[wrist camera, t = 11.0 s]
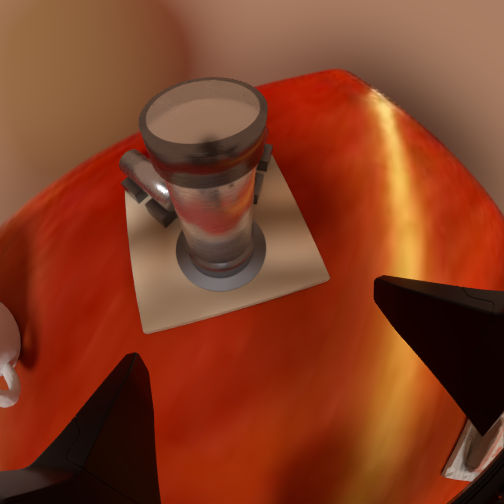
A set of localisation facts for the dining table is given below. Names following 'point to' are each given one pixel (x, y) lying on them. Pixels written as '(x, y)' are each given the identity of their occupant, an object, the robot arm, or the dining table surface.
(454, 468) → the packaged product
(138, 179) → the shaft
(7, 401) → the mug
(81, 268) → the dining table surface
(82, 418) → the robot arm
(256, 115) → the drinking glass
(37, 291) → the dining table surface
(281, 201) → the board
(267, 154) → the shaft
